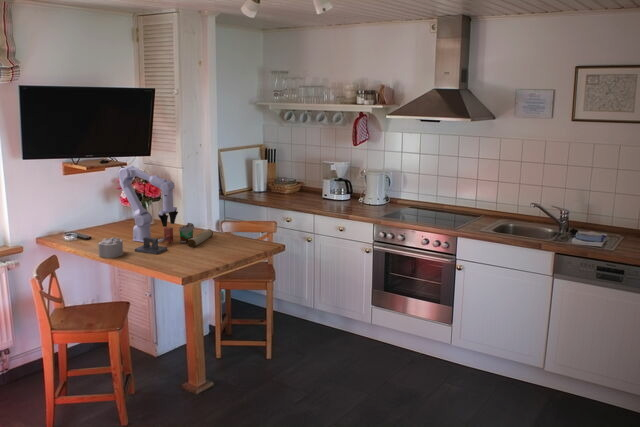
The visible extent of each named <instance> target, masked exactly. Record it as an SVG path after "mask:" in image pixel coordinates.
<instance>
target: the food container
mask: <svg viewBox="0 0 640 427" xmlns="http://www.w3.org/2000/svg"><path fill="white" fill-rule="evenodd" d="M194 229H195V224H194V223H191V222H187V224H186V225H183V226H182V227H180V226H179V229H178V231H179V238H180V245H181V244H183V245H184V244H185V245H188V241H189V239H191V238H194Z"/></svg>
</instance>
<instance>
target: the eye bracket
mask: <svg viewBox="0 0 640 427" xmlns="http://www.w3.org/2000/svg"><path fill="white" fill-rule="evenodd" d="M158 240H159V239H158V238H157V237H155V238H153V237H151V238H148V237H145V238H143V241H144V242H143V245H141V246H138V247H135V248H134V252H136V253H142V254H150V255H158V254H161V253H163V252H165V251H168V247H167V246H160V245H159V243H158Z"/></svg>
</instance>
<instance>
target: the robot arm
mask: <svg viewBox="0 0 640 427" xmlns="http://www.w3.org/2000/svg"><path fill="white" fill-rule="evenodd" d="M117 176H118V178H119V185H120V188H121V190H122V191H123V193H124V195H125V197H126V199H127V201H128V203H129V205H130V207H131V209H132V210H133V212H134V214H133V219H134V222H135V225H134V226H133V228H132V234H133V235H132V236H133V239H132V241H133V242H138V243H139V242H141V243H144V241H143V238H145V237H148V238H152V237H151V236H152V235H151V222H152V221H153V216H152V214H151V213H150V212H148V210H147V209H146V208H144V207H143V205H142V203H141V201H140V199H139V197H138V196H137V193H136V191H135V189H134V187H133V186H132V180H134V179H135V177H136V178H140V179H143V180H145V181H147V182H149V183H150V185H152V186H153V187H156V188H158V189H160V190H161V191H162V209H161V210H160V211H159V212H158V218H159V219H160V222H161V224H162V228H163V227H164V228H166V227H168V226H167V225H168V218H169V221H170V222H169V223H170V224H171V225H174V224H175V222H176V218H177V216H178V213H179V212H178V207H177V206H174V188H175V183H174V182H173V181H172V180H171V179H168V180H167V178H162V177H160V176H159V174H157V175H156V174H154V175H150V174H149V173H148V172H145V171H143V170H141V169H140V168H138V167H136V166H134V165H129V166H126V167H121V168H120V169H119V171H118V174H117Z"/></svg>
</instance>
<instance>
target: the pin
mask: <svg viewBox="0 0 640 427" xmlns="http://www.w3.org/2000/svg"><path fill="white" fill-rule="evenodd" d="M163 242H166V243H173V242H174V228H173V227H170V226H167V227H164V228H163V237H161V238H159V239H158V244H160V243H163Z"/></svg>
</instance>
